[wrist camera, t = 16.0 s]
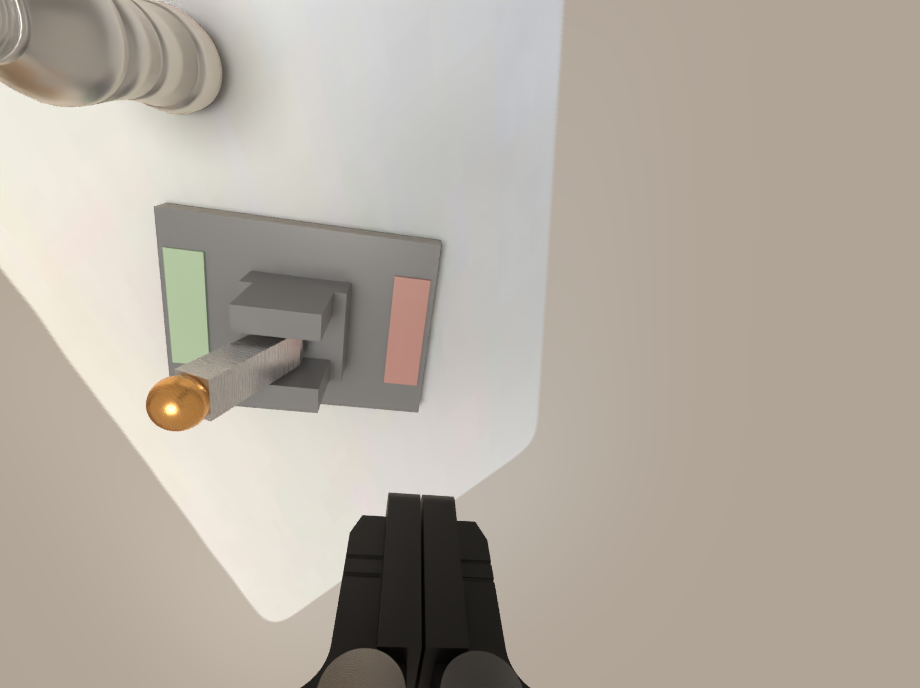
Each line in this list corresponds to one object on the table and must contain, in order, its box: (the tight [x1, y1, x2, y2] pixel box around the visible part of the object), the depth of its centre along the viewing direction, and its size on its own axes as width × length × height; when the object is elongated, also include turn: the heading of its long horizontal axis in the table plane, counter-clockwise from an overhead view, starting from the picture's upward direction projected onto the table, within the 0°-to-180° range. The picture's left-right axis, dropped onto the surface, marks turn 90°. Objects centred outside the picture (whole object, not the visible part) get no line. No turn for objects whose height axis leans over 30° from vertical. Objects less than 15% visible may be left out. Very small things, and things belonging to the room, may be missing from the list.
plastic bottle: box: [0, 0, 222, 115], centre depth 26 cm, size 6×7×20 cm
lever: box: [146, 334, 303, 431], centre depth 32 cm, size 3×3×13 cm
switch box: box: [154, 203, 441, 413], centre depth 39 cm, size 16×22×10 cm
